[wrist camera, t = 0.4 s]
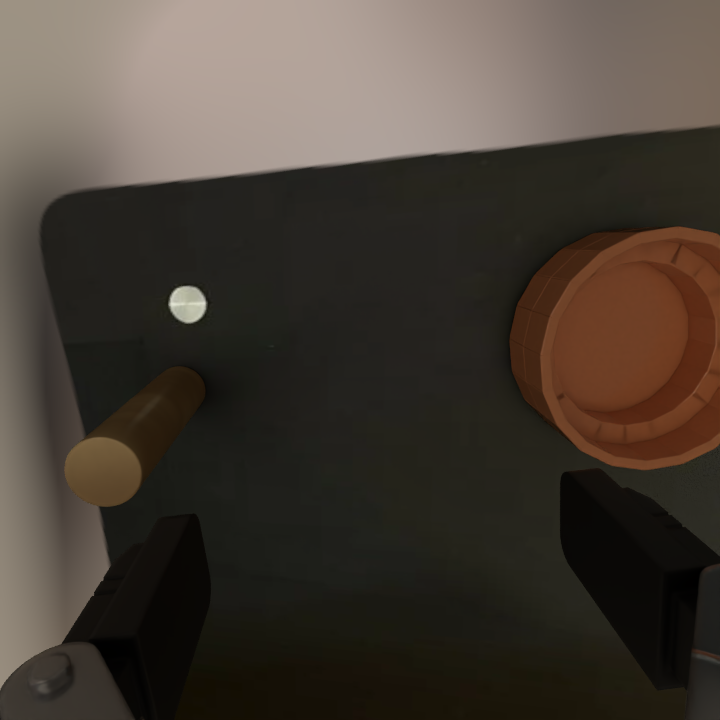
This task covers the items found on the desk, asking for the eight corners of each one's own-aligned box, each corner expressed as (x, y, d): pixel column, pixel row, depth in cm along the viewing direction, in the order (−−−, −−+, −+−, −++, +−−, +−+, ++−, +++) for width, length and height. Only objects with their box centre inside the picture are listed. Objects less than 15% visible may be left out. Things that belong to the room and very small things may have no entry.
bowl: (497, 247, 32) (532, 249, 27) (709, 214, 33) (784, 209, 27) (515, 449, 35) (549, 487, 30) (708, 417, 36) (776, 448, 30)
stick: (150, 370, 33) (54, 444, 21) (200, 362, 33) (131, 431, 21) (162, 416, 33) (75, 512, 22) (210, 408, 33) (149, 500, 22)
